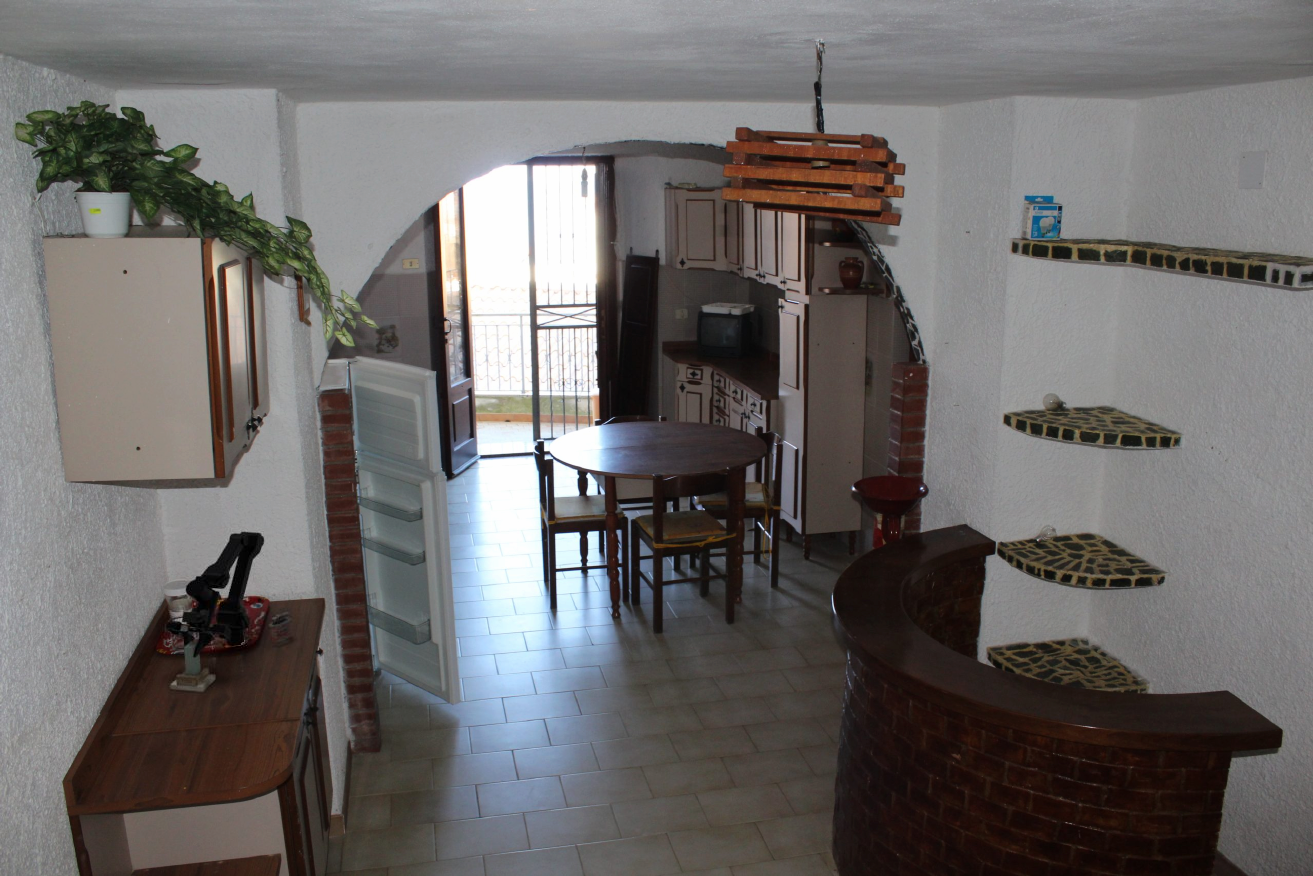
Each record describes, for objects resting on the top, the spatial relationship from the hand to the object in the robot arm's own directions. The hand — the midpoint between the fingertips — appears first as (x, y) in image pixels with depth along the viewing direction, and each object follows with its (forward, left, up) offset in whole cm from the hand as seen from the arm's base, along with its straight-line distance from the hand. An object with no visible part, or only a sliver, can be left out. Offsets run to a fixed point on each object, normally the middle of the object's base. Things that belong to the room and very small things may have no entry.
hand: (189, 657), depth 307 cm
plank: (-1, +1, -7) cm, 7 cm away
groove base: (-1, 0, -10) cm, 10 cm away
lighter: (-21, +28, -10) cm, 36 cm away
